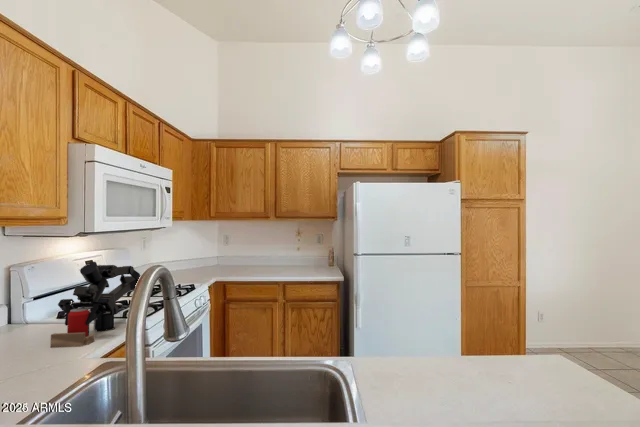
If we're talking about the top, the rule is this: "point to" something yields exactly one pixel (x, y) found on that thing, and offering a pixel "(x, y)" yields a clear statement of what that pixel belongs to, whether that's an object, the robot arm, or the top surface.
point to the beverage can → (78, 321)
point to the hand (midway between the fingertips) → (76, 324)
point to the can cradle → (70, 339)
